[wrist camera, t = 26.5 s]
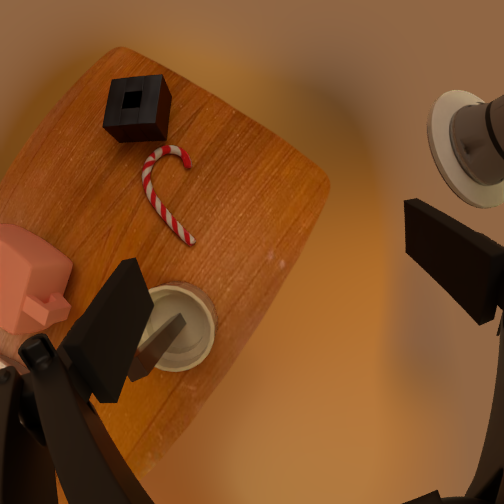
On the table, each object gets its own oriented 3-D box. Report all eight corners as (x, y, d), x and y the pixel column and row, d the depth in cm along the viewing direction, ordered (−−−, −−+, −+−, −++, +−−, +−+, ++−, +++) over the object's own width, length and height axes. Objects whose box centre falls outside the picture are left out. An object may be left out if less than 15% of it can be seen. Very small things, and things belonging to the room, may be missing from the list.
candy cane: (170, 255, 43) (132, 160, 43) (172, 255, 44) (134, 162, 44) (222, 231, 43) (180, 136, 43) (222, 231, 44) (181, 139, 44)
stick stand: (171, 96, 44) (162, 74, 37) (166, 140, 44) (155, 123, 37) (126, 99, 44) (111, 79, 37) (119, 143, 44) (102, 126, 37)
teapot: (-11, 275, 43) (-65, 280, 28) (9, 210, 43) (-46, 200, 29) (76, 340, 43) (26, 367, 29) (102, 268, 44) (51, 274, 29)
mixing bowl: (229, 298, 44) (227, 306, 38) (202, 367, 44) (196, 384, 38) (157, 269, 44) (143, 271, 37) (133, 338, 44) (118, 350, 37)
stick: (180, 312, 44) (137, 356, 24) (186, 323, 44) (148, 374, 24) (169, 318, 43) (120, 364, 23) (176, 329, 43) (131, 382, 23)
